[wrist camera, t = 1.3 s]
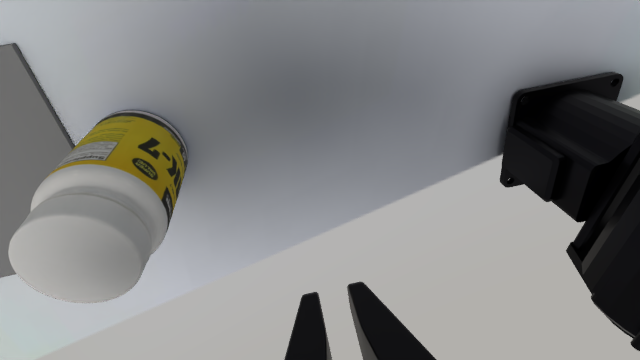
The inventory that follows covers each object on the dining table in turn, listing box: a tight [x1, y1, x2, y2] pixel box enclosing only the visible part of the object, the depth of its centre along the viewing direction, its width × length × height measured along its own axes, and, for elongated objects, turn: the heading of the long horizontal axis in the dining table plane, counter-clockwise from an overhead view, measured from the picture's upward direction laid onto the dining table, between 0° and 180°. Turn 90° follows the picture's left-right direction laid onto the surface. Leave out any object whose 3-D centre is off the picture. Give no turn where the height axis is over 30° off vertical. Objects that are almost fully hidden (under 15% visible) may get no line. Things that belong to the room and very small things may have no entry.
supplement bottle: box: [8, 110, 188, 303], centre depth 16 cm, size 5×5×8 cm
